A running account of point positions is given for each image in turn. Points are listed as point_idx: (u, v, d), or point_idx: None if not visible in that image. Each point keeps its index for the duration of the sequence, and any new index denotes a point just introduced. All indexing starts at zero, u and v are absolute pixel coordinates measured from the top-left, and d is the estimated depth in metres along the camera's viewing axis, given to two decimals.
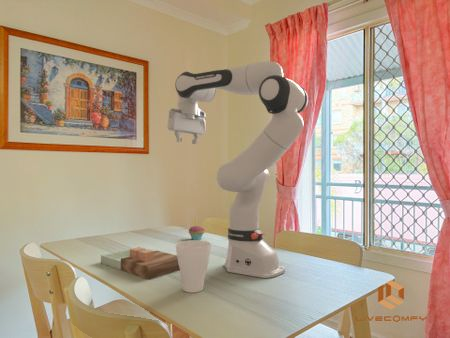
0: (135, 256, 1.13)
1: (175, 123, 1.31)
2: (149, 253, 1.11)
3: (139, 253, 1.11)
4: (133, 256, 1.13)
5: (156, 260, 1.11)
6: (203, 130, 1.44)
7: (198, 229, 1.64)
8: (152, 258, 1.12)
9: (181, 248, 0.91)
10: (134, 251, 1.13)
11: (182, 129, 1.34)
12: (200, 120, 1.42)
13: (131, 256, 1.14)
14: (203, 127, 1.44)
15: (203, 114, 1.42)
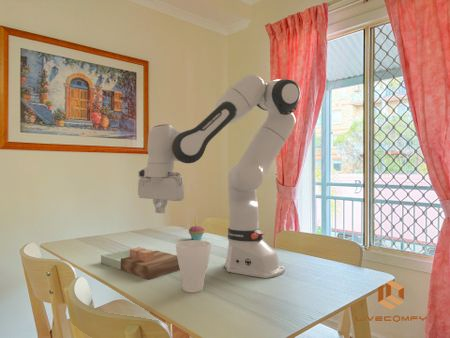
0: (135, 256, 1.13)
1: None
2: (149, 253, 1.11)
3: (139, 253, 1.11)
4: (133, 256, 1.13)
5: (156, 260, 1.11)
6: None
7: (198, 229, 1.64)
8: (152, 258, 1.12)
9: (181, 248, 0.91)
10: (134, 251, 1.13)
11: None
12: None
13: (131, 256, 1.14)
14: None
15: None
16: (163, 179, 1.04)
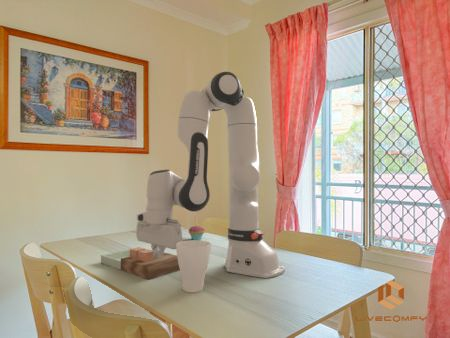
0: (135, 256, 1.13)
1: None
2: (149, 253, 1.11)
3: (139, 253, 1.11)
4: (133, 256, 1.13)
5: (156, 260, 1.11)
6: None
7: (198, 229, 1.64)
8: (152, 258, 1.12)
9: (181, 248, 0.91)
10: (134, 251, 1.13)
11: None
12: None
13: (131, 256, 1.14)
14: None
15: None
16: (162, 226, 1.04)
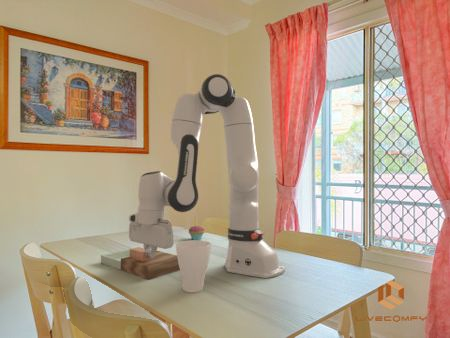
0: (135, 256, 1.13)
1: None
2: None
3: (137, 253, 1.12)
4: (133, 256, 1.13)
5: (156, 260, 1.11)
6: None
7: (198, 229, 1.64)
8: None
9: (181, 248, 0.91)
10: (134, 251, 1.13)
11: None
12: None
13: (131, 256, 1.14)
14: None
15: None
16: (153, 226, 1.07)
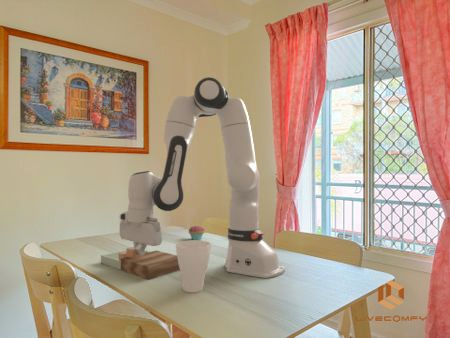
0: (122, 255, 1.18)
1: None
2: None
3: (127, 250, 1.16)
4: None
5: (156, 260, 1.11)
6: None
7: (198, 229, 1.64)
8: (140, 255, 1.16)
9: (181, 248, 0.91)
10: (119, 256, 1.19)
11: None
12: None
13: None
14: None
15: None
16: (142, 224, 1.11)
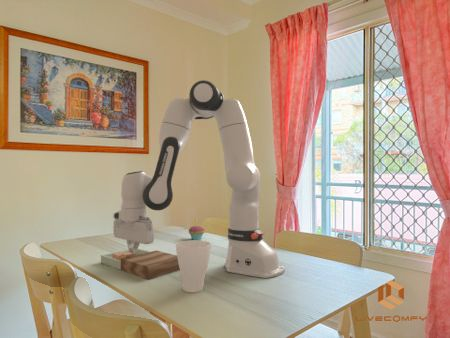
0: (113, 256, 1.21)
1: None
2: None
3: (125, 256, 1.16)
4: (115, 256, 1.20)
5: (156, 260, 1.11)
6: None
7: (198, 229, 1.64)
8: None
9: (181, 248, 0.91)
10: None
11: None
12: None
13: (116, 256, 1.20)
14: None
15: None
16: (135, 223, 1.13)
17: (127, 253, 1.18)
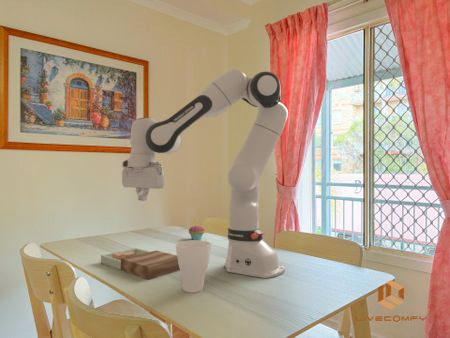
0: (113, 256, 1.21)
1: None
2: None
3: (125, 256, 1.16)
4: (115, 256, 1.20)
5: (156, 260, 1.11)
6: None
7: (198, 229, 1.64)
8: None
9: (181, 248, 0.91)
10: None
11: None
12: None
13: (116, 256, 1.20)
14: None
15: None
16: (145, 168, 1.12)
17: (127, 253, 1.18)
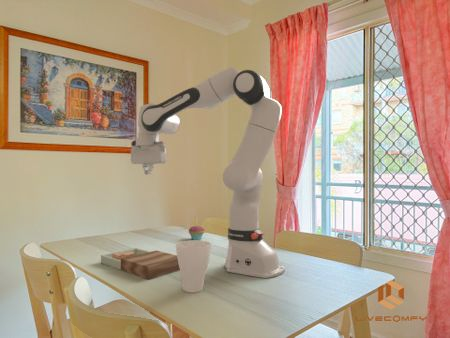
0: (113, 256, 1.21)
1: None
2: None
3: (125, 256, 1.16)
4: (115, 256, 1.20)
5: (156, 260, 1.11)
6: None
7: (198, 229, 1.64)
8: None
9: (181, 248, 0.91)
10: None
11: None
12: None
13: (116, 256, 1.20)
14: None
15: None
16: (150, 147, 1.33)
17: (127, 253, 1.18)
